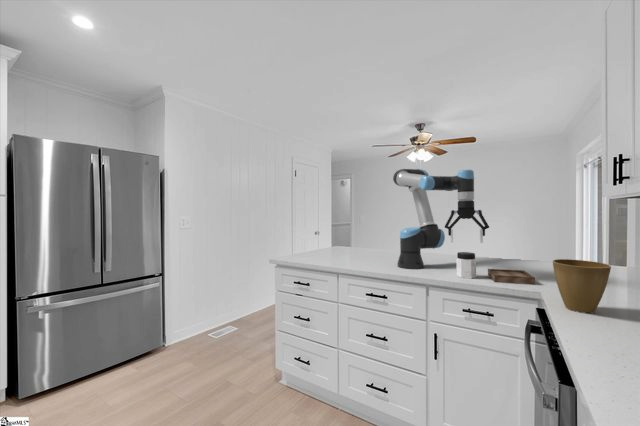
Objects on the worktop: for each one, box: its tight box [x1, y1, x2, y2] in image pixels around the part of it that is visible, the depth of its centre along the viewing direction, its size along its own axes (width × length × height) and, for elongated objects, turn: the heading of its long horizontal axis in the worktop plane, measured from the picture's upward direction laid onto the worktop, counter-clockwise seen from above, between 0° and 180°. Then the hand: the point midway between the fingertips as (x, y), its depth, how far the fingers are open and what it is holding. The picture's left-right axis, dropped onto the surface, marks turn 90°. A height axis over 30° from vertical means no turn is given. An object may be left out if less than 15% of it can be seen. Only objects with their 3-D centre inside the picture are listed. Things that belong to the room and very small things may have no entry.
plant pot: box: [552, 258, 612, 313], centre depth 101 cm, size 15×15×16 cm
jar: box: [456, 251, 477, 279], centre depth 152 cm, size 9×8×12 cm
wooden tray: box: [487, 268, 536, 286], centre depth 145 cm, size 16×16×3 cm
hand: (466, 242), depth 152 cm, fingers open, 13 cm apart
